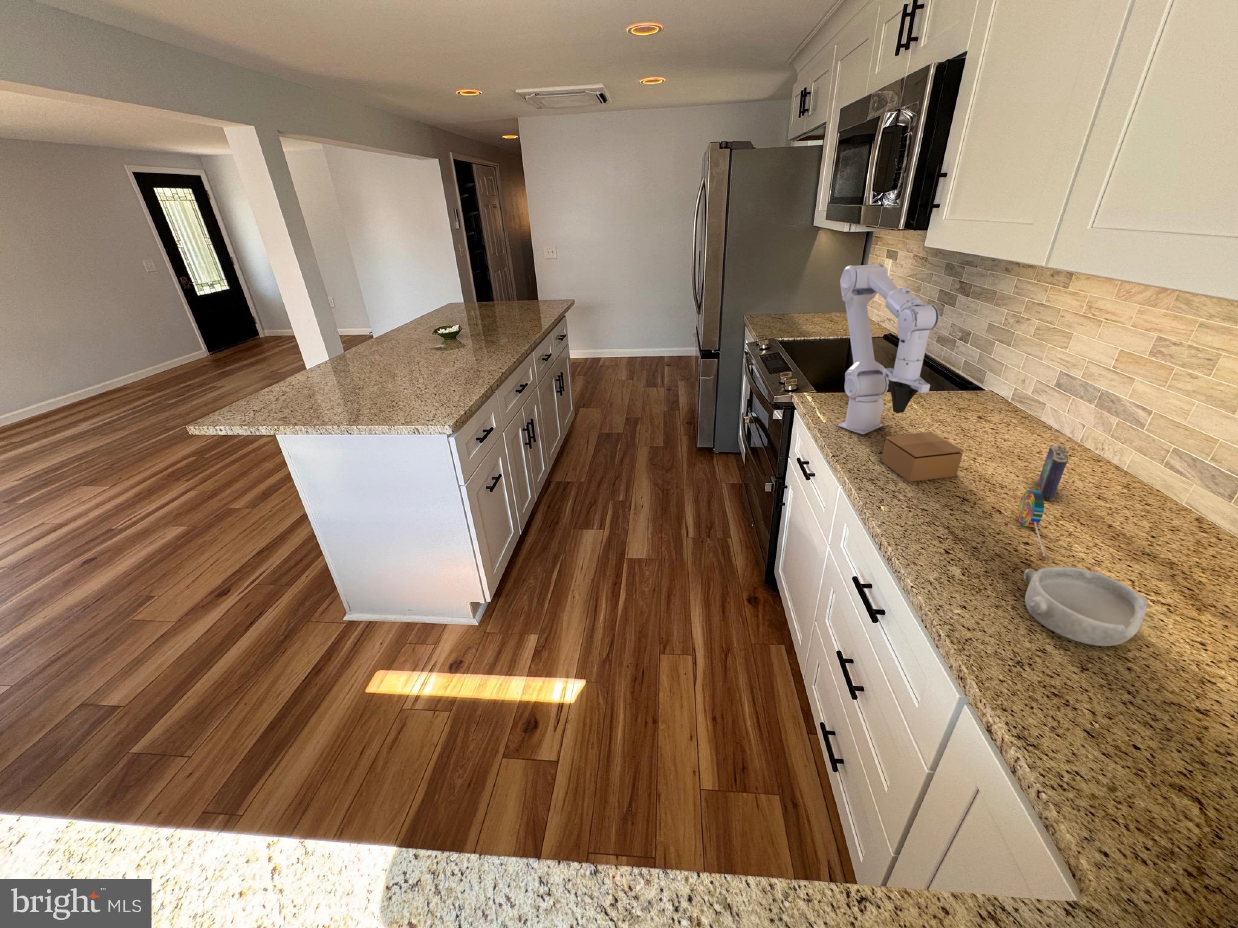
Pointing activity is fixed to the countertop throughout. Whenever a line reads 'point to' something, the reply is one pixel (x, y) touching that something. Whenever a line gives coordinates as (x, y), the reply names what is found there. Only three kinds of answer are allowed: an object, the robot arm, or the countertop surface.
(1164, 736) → the countertop surface
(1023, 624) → the countertop surface
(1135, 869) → the countertop surface
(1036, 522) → the lollipop
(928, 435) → the flap
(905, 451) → the carton
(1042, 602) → the dish
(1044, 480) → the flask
